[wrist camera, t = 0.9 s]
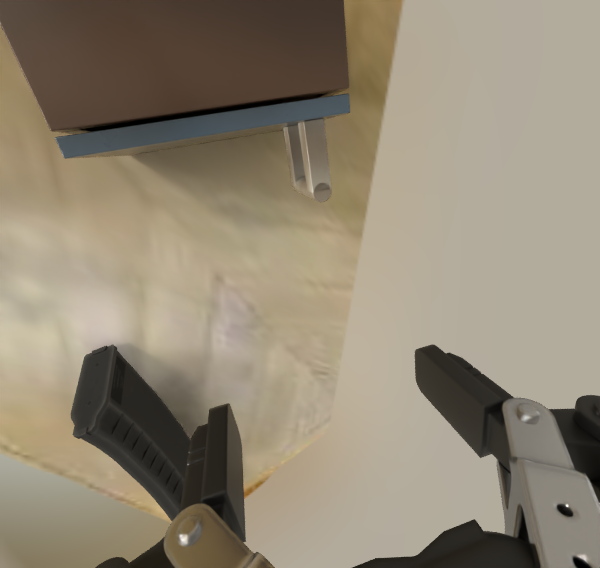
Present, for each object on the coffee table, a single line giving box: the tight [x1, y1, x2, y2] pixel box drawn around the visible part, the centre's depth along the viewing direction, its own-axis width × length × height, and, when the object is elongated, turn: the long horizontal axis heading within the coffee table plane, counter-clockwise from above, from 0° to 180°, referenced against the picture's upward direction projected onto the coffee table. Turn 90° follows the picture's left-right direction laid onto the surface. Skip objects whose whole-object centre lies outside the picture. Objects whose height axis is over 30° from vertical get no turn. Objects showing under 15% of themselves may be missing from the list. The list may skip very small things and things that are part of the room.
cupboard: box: [0, 0, 349, 134], centre depth 20 cm, size 10×16×14 cm, turn 99°
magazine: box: [71, 345, 190, 521], centre depth 36 cm, size 17×3×30 cm
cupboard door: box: [55, 94, 350, 202], centre depth 24 cm, size 6×16×14 cm, turn 99°
